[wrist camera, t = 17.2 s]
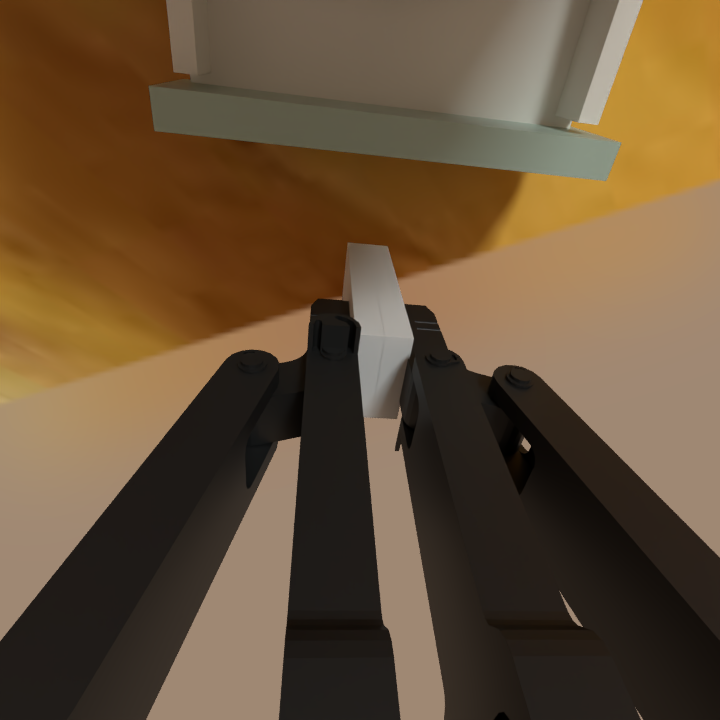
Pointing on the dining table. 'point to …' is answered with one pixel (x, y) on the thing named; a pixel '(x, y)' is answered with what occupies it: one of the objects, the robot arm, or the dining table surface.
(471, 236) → the dining table surface
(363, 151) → the tray
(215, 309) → the dining table surface
